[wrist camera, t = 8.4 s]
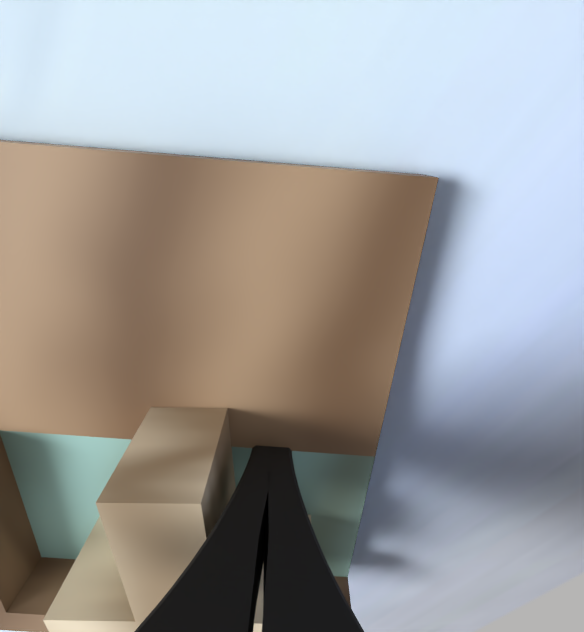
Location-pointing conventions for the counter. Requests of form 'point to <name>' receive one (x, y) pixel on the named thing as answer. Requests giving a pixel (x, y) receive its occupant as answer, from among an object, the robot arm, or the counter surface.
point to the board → (190, 331)
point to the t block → (150, 522)
